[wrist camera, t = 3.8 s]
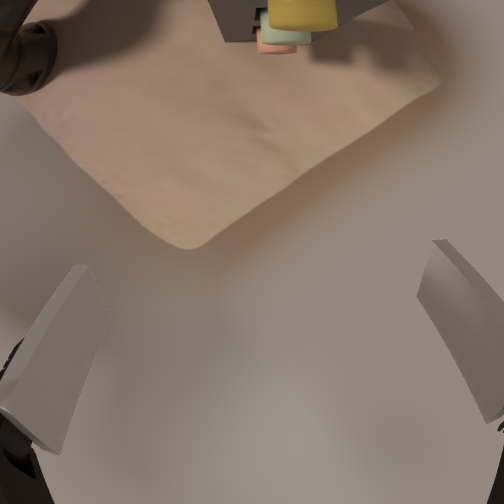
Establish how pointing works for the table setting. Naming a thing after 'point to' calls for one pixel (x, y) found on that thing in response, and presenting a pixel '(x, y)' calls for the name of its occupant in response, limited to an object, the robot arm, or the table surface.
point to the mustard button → (302, 15)
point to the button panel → (249, 3)
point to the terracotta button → (272, 46)
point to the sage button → (281, 33)
